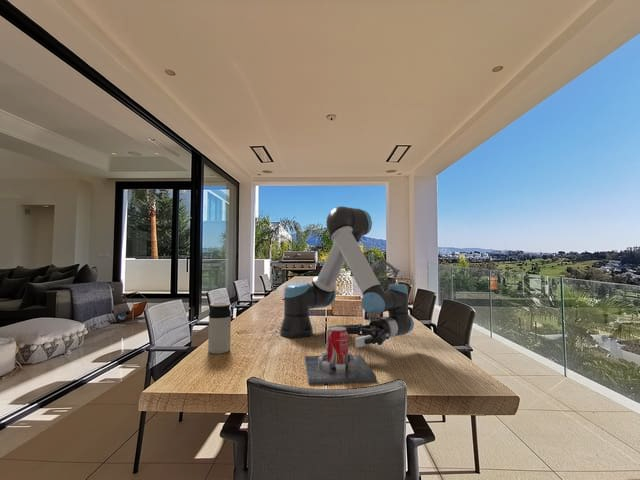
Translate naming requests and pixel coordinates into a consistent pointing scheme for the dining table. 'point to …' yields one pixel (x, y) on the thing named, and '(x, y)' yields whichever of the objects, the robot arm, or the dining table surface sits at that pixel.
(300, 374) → the dining table surface
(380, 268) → the geometric lantern
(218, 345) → the travel mug
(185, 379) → the dining table surface
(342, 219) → the robot arm
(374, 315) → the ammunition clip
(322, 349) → the dining table surface
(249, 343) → the dining table surface
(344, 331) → the soda can
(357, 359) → the square lugged base plate
